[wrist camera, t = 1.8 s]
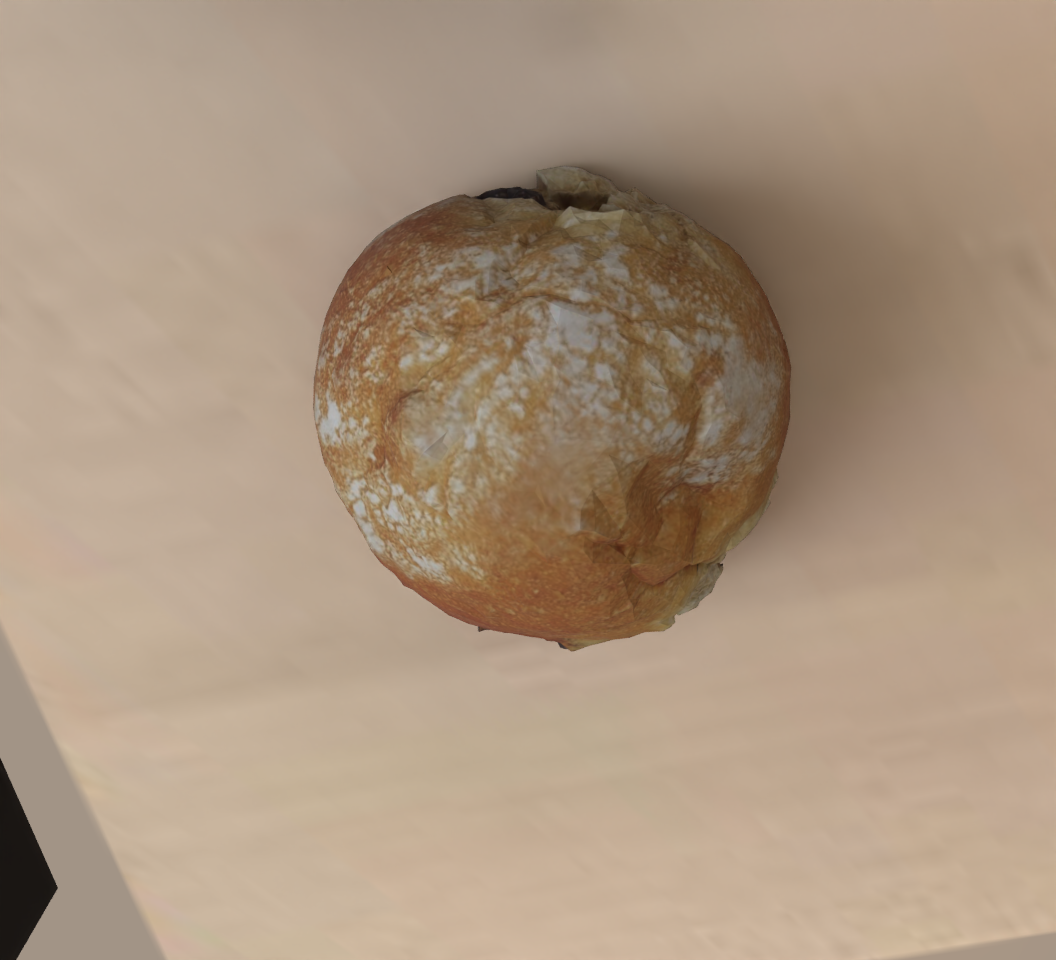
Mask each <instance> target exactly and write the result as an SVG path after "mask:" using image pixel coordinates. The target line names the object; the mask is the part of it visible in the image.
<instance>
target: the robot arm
mask: <svg viewBox="0 0 1056 960" xmlns="http://www.w3.org/2000/svg"><path fill="white" fill-rule="evenodd" d="M57 888H58V887H57V885H56V883H55V880H54V878H53V876H52V874H51V871H50V869H49V867H48V865H47V862H46V861H45V858H44V856H43V853H42V851H41V849H40V847H39V844H38V842H37V840H36V838H35V835H34V833H33V831H32V829H31V827H30V824H29V822H28V820H27V817H26V815H25V813H24V810H23V808H22V806H21V804H20V801H19V799H18V797H17V795H16V793H15V790H14V788H13V786H12V783H11V781H10V779H9V777H8V774H7V772H6V770H5V768H4V765H3V763H2V761H1V759H0V960H16V959H17V957H18V956H19V954H20V952H21V950H22V948H23V947H24V945H25V944H26V942H27V940H28V938H29V936H30V935H31V933H32V931H33V930H34V928H35V926H36V925H37V923H38V921H39V919H40V918H41V916H42V914H43V912H44V911H45V909H46V907H47V906H48V904H49V902H50V900H51V899H52V897H53V895H54V894H55V892H56V890H57Z"/></svg>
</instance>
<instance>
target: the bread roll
mask: <svg viewBox="0 0 1056 960" xmlns="http://www.w3.org/2000/svg"><path fill="white" fill-rule="evenodd" d="M790 377H791V365H790V360H789V355H788V351H787V347H786V343H785V340H784V339H783V334H782V332H781V329H780V327H779V324H778V322H777V319H776V317H775V315H774V313H773V310H772V308H771V306H770V304H769V301H768V299H767V296H766V295H765V293H764V291H763V290H762V288H761V287H760V285H759V283H758V282H757V281H756V279H755V278H754V276H753V275H752V273H751V272H750V270H749V268H748V267H747V265H746V264H745V262H744V261H743V259H742V257H741V256H740V255H739V254H738V253H737V252H735V251H734V250H733V249H732V248H731V247H730V246H729V245H728V244H726V243H725V242H723V241H721V240H720V239H718V238H717V237H716V236H714V235H713V234H711V233H710V232H708V231H707V230H705V229H704V228H702V227H701V226H698V225H697V223H696V222H695V221H693V220H692V219H690V218H689V217H687V216H686V215H684V214H682V213H681V212H678V211H675V210H672V209H671V208H670V207H669V206H668V205H667V204H666V205H662V204H657V203H655V202H654V201H653V200H651V199H650V198H648V197H647V196H645V195H644V194H643V193H641V192H640V191H639V190H638V189H636V188H633V189H631V190H629V191H626V192H622V191H618V190H617V188H616V187H615V185H614V184H613V183H612V182H611V181H610V180H609V179H607V178H605V177H603V176H601V175H594V174H591V173H589V172H587V171H585V170H583V169H581V168H577V167H567V166H560V167H554V168H549V169H544V170H538V171H537V189H523V188H520V187H513V188H499V189H495V190H491V191H486V192H485V193H483V194H481V195H480V196H475V197H469V196H467V195H465V194H464V195H457V196H453V197H450V198H448V199H445V200H442V201H440V202H437V203H434V204H432V205H430V206H428V207H426V208H423V209H421V210H419V211H417V212H415V213H413V214H411V215H409V216H407V217H405V218H403V219H402V220H400V221H399V222H397V223H395V224H394V225H392V226H391V227H389V228H388V229H386V230H385V231H383V232H382V233H381V234H379V235H378V236H377V237H376V238H375V239H374V240H373V241H372V242H371V243H370V244H369V245H368V246H367V247H366V248H365V250H364V251H363V252H362V253H361V255H360V256H359V257H358V259H357V260H356V261H355V263H354V264H353V265H352V266H351V267H350V268H349V269H348V271H347V273H346V275H345V277H344V279H343V280H342V282H341V284H340V285H339V287H338V289H337V291H336V294H335V296H334V298H333V300H332V302H331V305H330V307H329V310H328V312H327V315H326V317H325V321H324V325H323V328H322V332H321V338H320V344H319V352H318V359H317V365H316V371H315V377H314V404H313V409H314V417H315V424H316V429H317V434H318V439H319V443H320V447H321V452H322V456H323V459H324V463H325V466H326V467H327V468H328V470H329V472H330V475H331V477H332V479H333V482H334V486H335V490H336V492H337V494H338V495H339V497H340V499H341V500H342V501H343V503H344V505H345V506H346V508H347V510H348V512H349V513H350V514H351V516H352V517H353V518H354V520H355V521H356V523H357V525H358V527H359V529H360V531H361V532H362V534H363V535H364V537H365V539H366V541H367V543H368V545H369V547H370V549H371V551H372V552H373V553H374V555H375V556H376V557H377V558H378V560H379V561H380V562H381V563H382V564H383V565H384V566H385V567H386V568H388V569H389V570H390V571H392V572H393V573H394V574H395V575H396V576H397V577H398V579H399V580H400V581H401V582H402V584H403V585H404V586H406V587H408V588H410V589H413V590H414V591H415V592H417V593H418V594H419V595H421V596H422V597H423V598H425V599H426V600H428V601H429V602H431V603H432V604H434V605H435V606H436V607H438V608H439V609H441V610H442V611H444V612H445V613H447V614H448V615H450V616H452V617H455V618H457V619H459V620H461V621H464V622H466V623H468V624H472V625H476V626H478V630H479V632H480V631H483V630H494V631H499V632H504V633H513V634H519V635H524V636H529V637H537V638H543V639H545V640H547V641H556V642H558V644H559V646H560V647H561V648H563V649H569V650H570V651H576V650H579V649H581V648H584V647H587V646H590V645H594V644H598V643H602V642H606V641H610V640H613V639H622V638H630V637H632V636H635V635H638V634H640V633H643V632H655V631H665V630H666V629H668V628H670V627H671V626H672V625H673V624H674V623H675V618H674V616H675V615H676V614H678V615H680V614H683V613H685V612H687V611H689V610H692V609H694V608H696V607H697V606H698V604H699V602H700V601H701V600H702V599H703V598H704V597H706V596H707V595H708V594H709V593H711V592H712V590H713V588H714V585H715V582H716V580H717V579H718V578H719V576H720V575H721V573H722V571H723V563H722V564H719V563H720V562H721V561H722V560H723V559H724V558H725V555H726V552H727V551H729V550H732V549H733V548H734V547H735V546H736V545H738V544H739V543H740V542H741V541H742V540H743V539H744V538H745V537H746V536H747V535H748V534H749V533H750V531H751V530H752V529H753V528H754V527H755V525H756V524H757V523H758V521H759V519H760V518H761V516H762V515H763V513H764V512H765V510H766V509H767V507H768V506H769V504H770V501H769V496H770V493H771V490H772V489H773V487H774V486H775V484H776V482H777V479H778V474H777V465H778V462H779V459H780V456H781V452H782V449H783V446H784V442H785V438H786V434H787V430H788V425H789V419H790Z"/></svg>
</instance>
